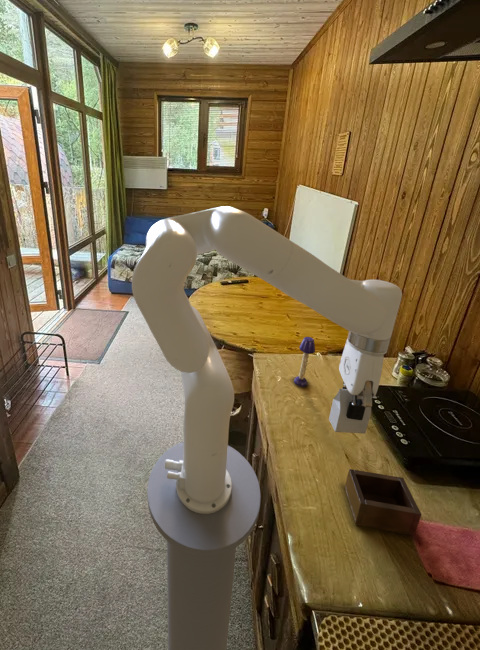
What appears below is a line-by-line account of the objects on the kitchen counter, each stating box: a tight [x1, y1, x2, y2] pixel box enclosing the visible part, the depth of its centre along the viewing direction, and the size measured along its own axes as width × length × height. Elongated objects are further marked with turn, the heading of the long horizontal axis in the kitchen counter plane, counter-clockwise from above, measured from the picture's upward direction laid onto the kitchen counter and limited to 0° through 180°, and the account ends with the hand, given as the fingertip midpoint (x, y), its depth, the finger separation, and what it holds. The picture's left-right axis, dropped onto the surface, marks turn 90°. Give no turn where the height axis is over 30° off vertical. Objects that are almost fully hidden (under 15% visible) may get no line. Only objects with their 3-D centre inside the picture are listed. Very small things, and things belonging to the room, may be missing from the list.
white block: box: [328, 388, 372, 435], centre depth 69 cm, size 4×7×10 cm, turn 88°
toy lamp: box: [293, 336, 316, 388], centre depth 99 cm, size 5×5×17 cm
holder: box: [344, 468, 422, 536], centre depth 62 cm, size 11×7×6 cm
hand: (350, 409), depth 69 cm, fingers closed on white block, 4 cm apart
